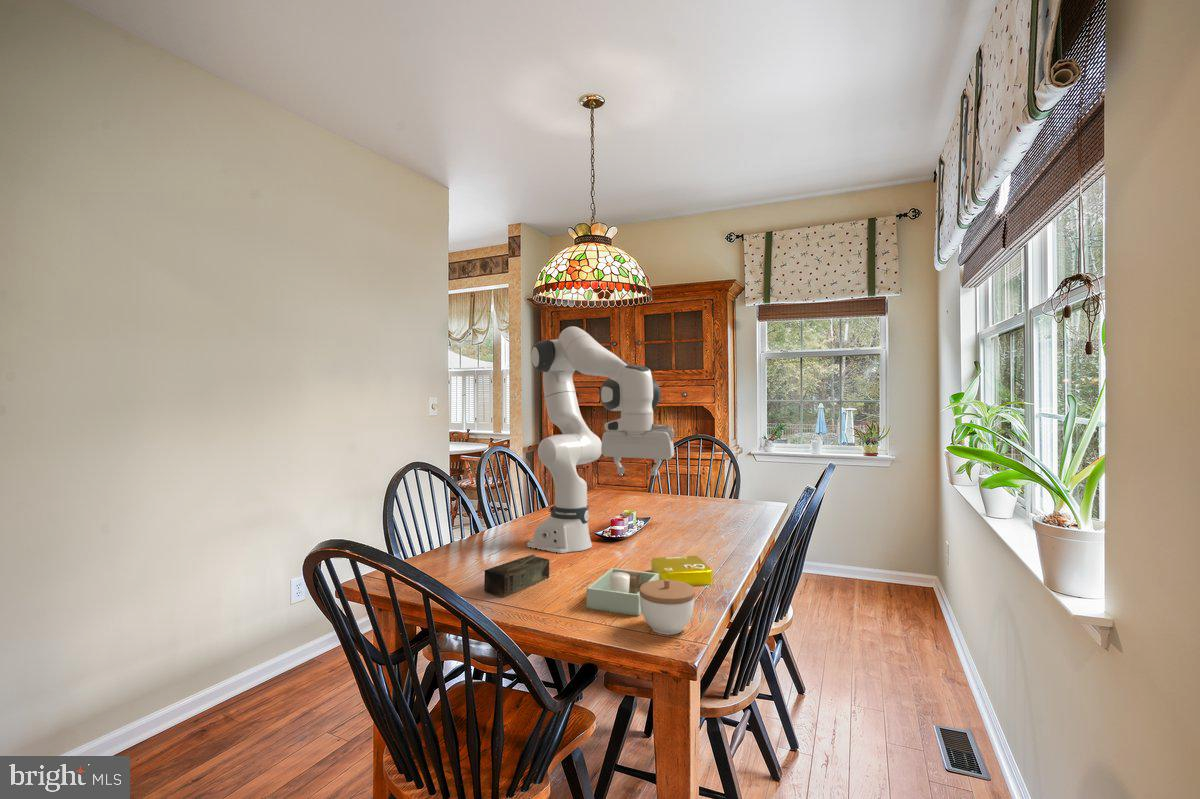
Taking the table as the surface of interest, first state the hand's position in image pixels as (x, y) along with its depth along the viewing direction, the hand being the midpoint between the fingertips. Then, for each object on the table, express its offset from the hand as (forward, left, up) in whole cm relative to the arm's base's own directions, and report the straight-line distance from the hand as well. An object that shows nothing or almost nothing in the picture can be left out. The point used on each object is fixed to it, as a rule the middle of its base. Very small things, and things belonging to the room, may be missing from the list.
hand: (637, 474), depth 160 cm
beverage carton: (-31, -11, -32) cm, 46 cm away
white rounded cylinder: (0, -15, -30) cm, 34 cm away
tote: (0, -11, -31) cm, 33 cm away
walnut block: (0, -7, -31) cm, 31 cm away
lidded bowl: (+15, -24, -31) cm, 42 cm away
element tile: (+9, +12, -32) cm, 35 cm away
